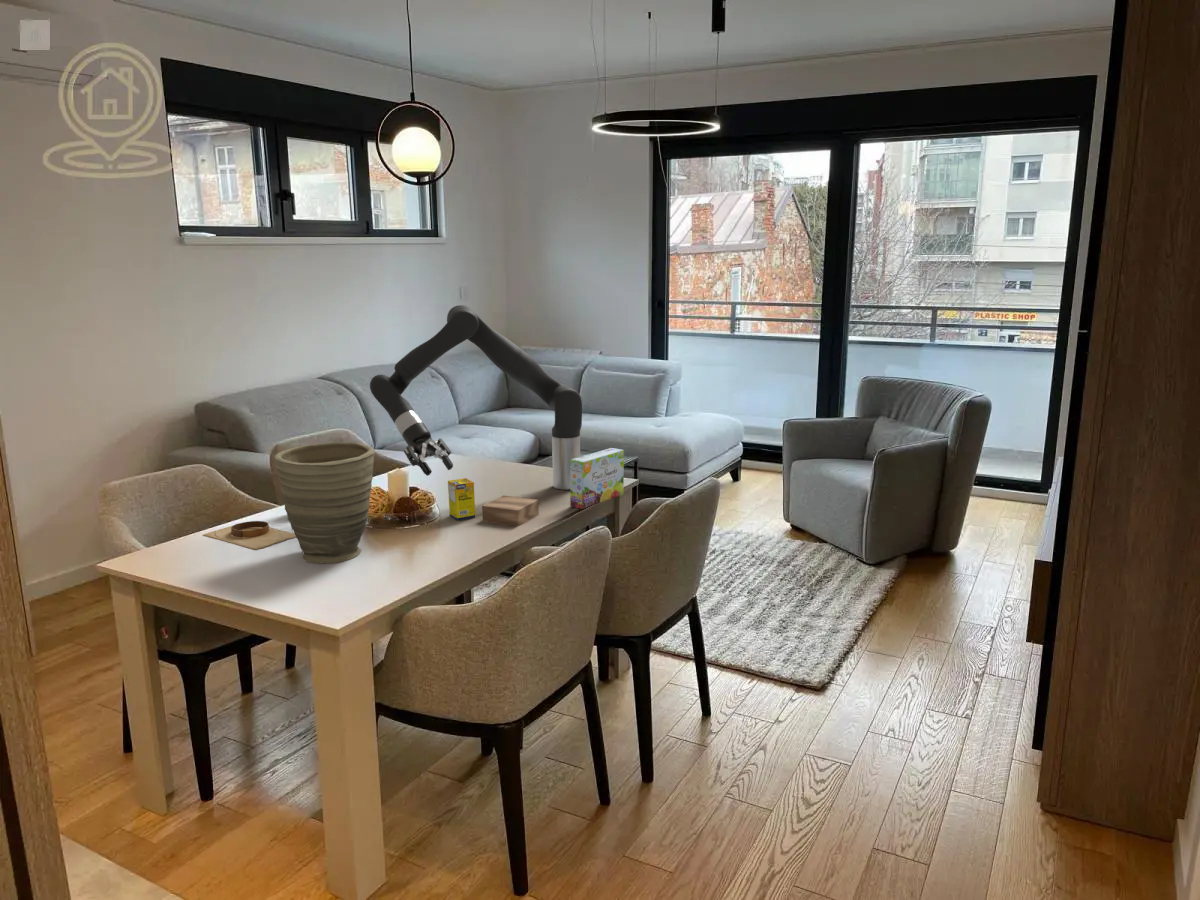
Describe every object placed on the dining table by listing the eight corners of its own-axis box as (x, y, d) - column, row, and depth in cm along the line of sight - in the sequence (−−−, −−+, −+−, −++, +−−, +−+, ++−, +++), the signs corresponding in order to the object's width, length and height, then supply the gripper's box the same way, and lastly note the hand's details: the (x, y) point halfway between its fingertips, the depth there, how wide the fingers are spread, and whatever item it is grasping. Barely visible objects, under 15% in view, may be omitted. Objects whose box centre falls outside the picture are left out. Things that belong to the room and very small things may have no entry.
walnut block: (504, 511, 266) (503, 495, 265) (538, 515, 261) (538, 499, 260) (482, 522, 255) (481, 505, 254) (518, 527, 250) (517, 510, 249)
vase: (269, 554, 230) (270, 440, 229) (362, 550, 241) (364, 441, 239) (278, 573, 208) (280, 446, 207) (380, 567, 219) (382, 447, 217)
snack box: (584, 510, 265) (583, 461, 262) (569, 507, 268) (568, 459, 265) (624, 494, 282) (624, 448, 278) (610, 491, 285) (610, 446, 282)
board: (199, 537, 245) (198, 526, 244) (247, 523, 257) (245, 512, 256) (256, 553, 232) (255, 541, 231) (303, 537, 244) (302, 526, 243)
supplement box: (475, 517, 258) (474, 481, 256) (456, 521, 255) (455, 484, 253) (467, 512, 263) (466, 477, 261) (449, 516, 260) (447, 480, 258)
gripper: (399, 425, 258) (428, 468, 254) (435, 417, 269) (463, 459, 265) (388, 440, 263) (416, 483, 258) (424, 432, 274) (452, 473, 269)
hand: (440, 471), depth 262 cm, fingers open, 8 cm apart
